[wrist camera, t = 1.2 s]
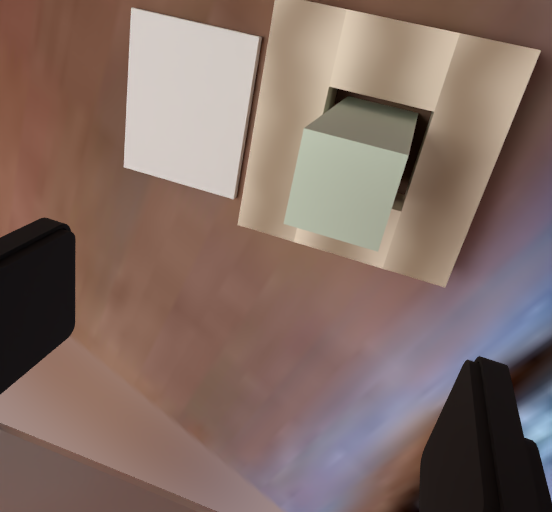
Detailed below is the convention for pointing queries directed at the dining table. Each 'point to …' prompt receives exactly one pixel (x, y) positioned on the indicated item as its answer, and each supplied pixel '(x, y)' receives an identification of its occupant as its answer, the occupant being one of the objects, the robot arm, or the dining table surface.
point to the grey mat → (189, 100)
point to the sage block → (350, 171)
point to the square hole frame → (396, 88)
